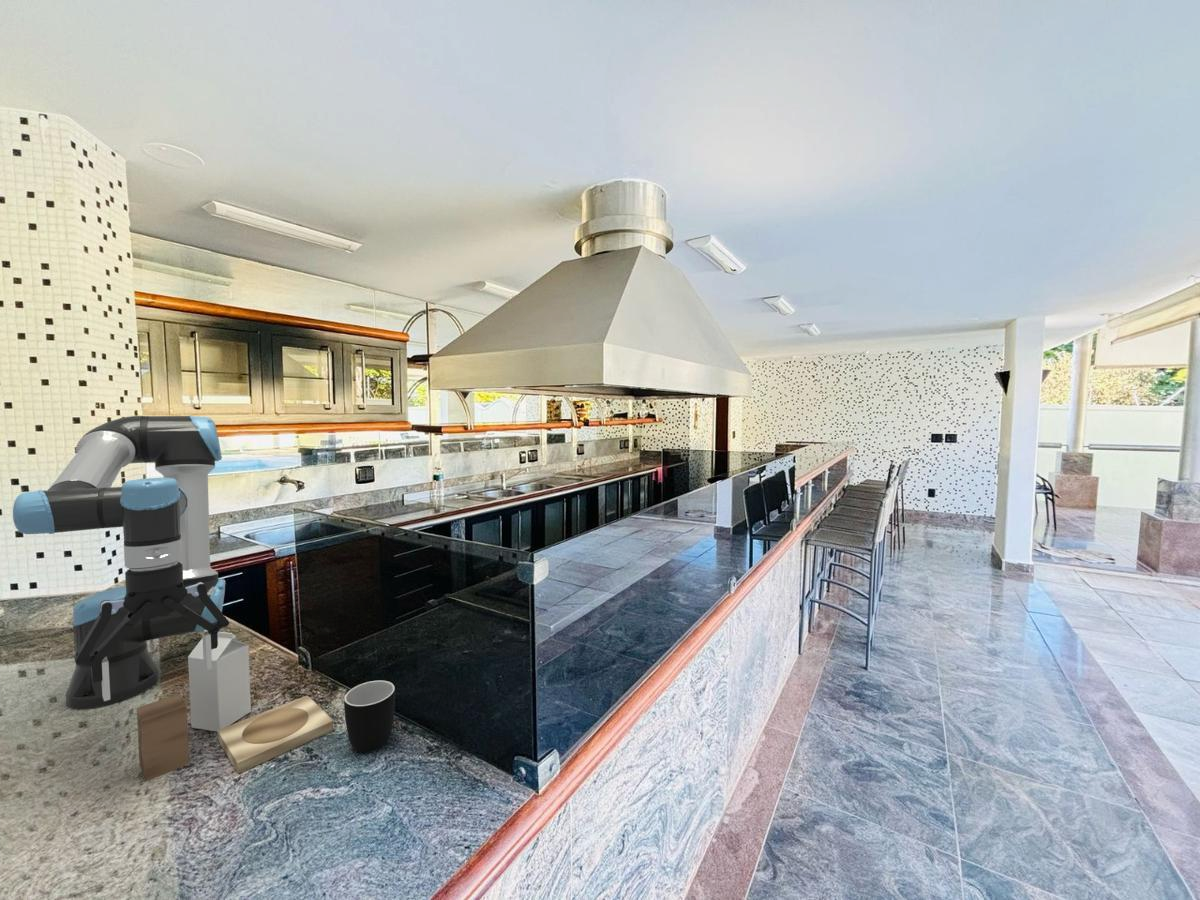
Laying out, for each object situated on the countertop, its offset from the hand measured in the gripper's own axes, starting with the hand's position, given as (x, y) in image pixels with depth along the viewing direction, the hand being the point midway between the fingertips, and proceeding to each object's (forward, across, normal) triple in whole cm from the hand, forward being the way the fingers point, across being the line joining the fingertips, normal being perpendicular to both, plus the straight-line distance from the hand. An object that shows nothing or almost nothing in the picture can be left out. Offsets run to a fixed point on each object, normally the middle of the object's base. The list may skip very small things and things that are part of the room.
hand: (160, 681), depth 87 cm
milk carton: (+16, +10, +9) cm, 21 cm away
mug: (+16, +27, -21) cm, 38 cm away
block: (+16, 0, 0) cm, 16 cm away
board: (+16, +16, -6) cm, 23 cm away
